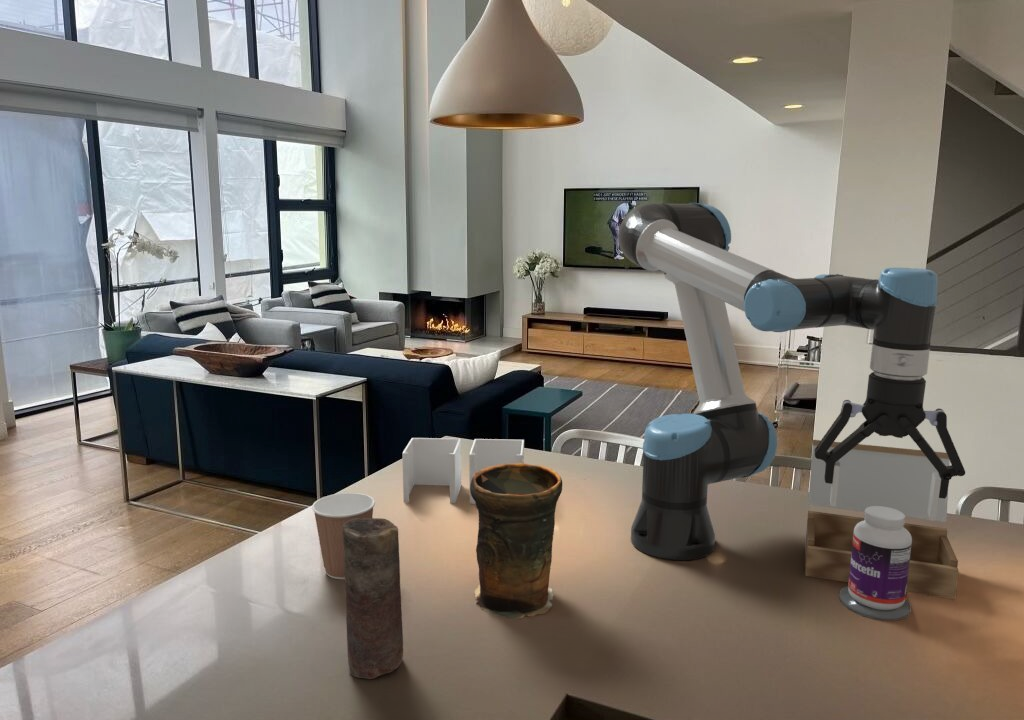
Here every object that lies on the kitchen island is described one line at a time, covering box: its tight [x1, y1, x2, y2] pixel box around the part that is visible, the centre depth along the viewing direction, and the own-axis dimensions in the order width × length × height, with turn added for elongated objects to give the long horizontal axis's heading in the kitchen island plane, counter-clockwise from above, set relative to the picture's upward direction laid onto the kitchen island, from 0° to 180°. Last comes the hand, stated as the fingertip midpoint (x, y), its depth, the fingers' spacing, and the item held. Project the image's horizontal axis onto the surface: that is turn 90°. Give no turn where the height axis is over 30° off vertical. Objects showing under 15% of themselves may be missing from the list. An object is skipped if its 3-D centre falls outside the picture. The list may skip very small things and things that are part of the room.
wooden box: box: [804, 510, 959, 600], centre depth 127 cm, size 22×12×7 cm, turn 69°
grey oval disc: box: [839, 585, 912, 621], centre depth 117 cm, size 10×10×1 cm
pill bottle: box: [847, 506, 912, 610], centre depth 115 cm, size 8×8×14 cm
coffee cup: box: [311, 492, 376, 580], centre depth 126 cm, size 10×10×12 cm
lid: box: [808, 439, 951, 523], centre depth 133 cm, size 22×12×1 cm
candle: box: [343, 517, 404, 680], centre depth 99 cm, size 8×7×20 cm
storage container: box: [401, 437, 525, 505], centre depth 162 cm, size 25×11×11 cm, turn 87°
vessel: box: [469, 462, 563, 620], centre depth 117 cm, size 14×14×20 cm
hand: (880, 510), depth 114 cm, fingers open, 13 cm apart
